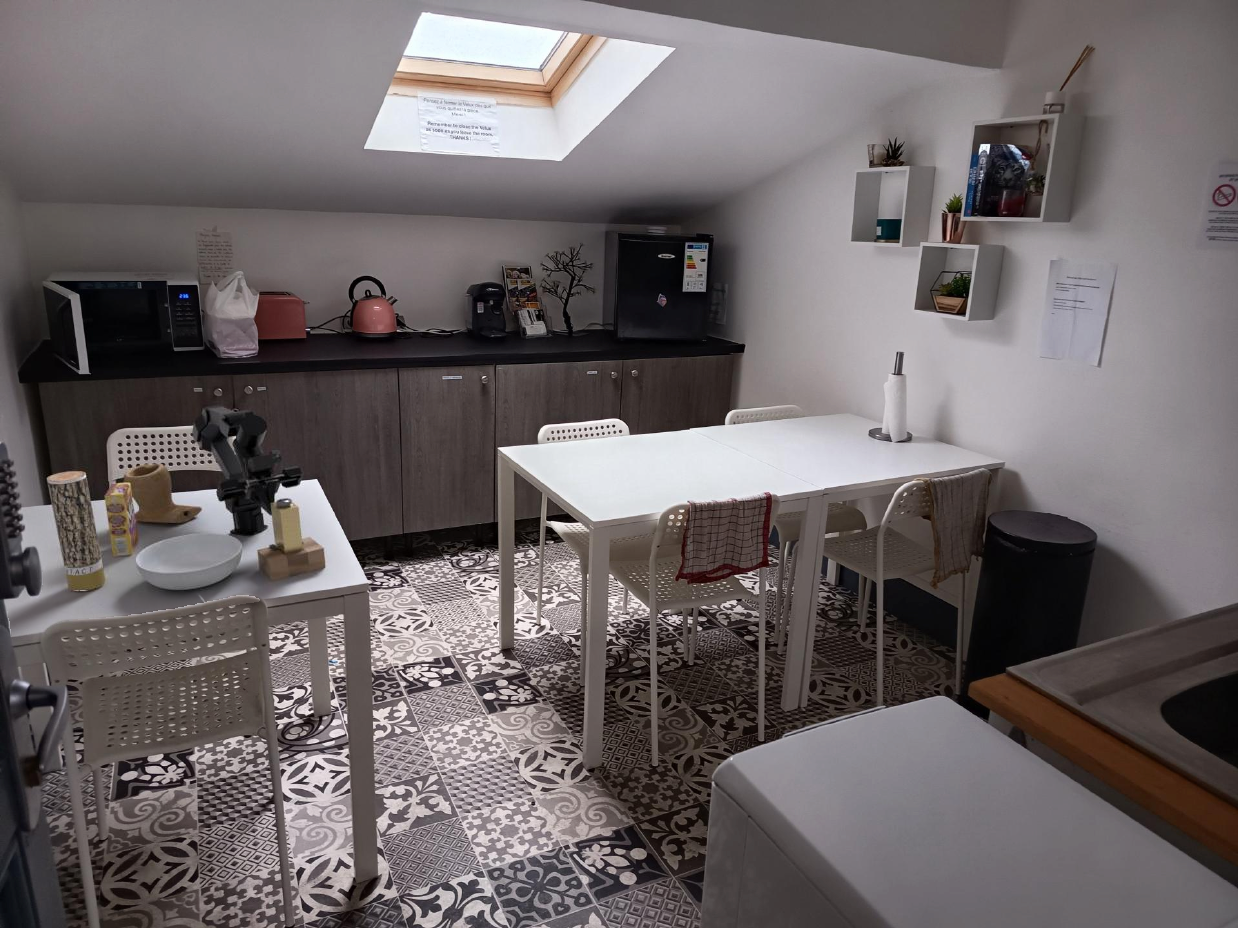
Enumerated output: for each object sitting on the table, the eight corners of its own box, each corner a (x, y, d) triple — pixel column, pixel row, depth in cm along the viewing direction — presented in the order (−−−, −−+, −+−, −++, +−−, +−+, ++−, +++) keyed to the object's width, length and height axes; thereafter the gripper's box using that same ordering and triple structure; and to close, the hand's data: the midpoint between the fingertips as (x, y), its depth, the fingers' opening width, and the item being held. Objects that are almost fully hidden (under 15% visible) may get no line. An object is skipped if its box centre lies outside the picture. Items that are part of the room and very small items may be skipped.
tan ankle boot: (120, 526, 212) (110, 470, 208) (153, 510, 223) (145, 456, 219) (172, 532, 209) (163, 475, 205) (204, 515, 220) (196, 461, 216)
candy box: (134, 555, 196) (123, 494, 191) (113, 557, 194) (101, 495, 190) (140, 540, 204) (130, 481, 199) (120, 543, 202) (109, 483, 198)
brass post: (277, 564, 192) (270, 499, 187) (294, 559, 195) (287, 495, 190) (287, 573, 188) (279, 506, 183) (304, 568, 190) (298, 502, 185)
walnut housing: (259, 570, 190) (256, 547, 188) (311, 556, 197) (309, 535, 196) (272, 582, 184) (269, 559, 182) (325, 568, 192) (323, 545, 190)
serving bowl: (135, 608, 172) (130, 578, 170) (145, 567, 190) (140, 539, 188) (246, 592, 180) (242, 562, 178) (245, 554, 198) (241, 527, 196)
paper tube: (79, 579, 184) (58, 471, 176) (111, 578, 184) (92, 471, 176) (62, 593, 177) (39, 481, 169) (96, 592, 178) (74, 481, 170)
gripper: (213, 447, 187) (235, 507, 183) (296, 433, 199) (319, 489, 194) (207, 471, 195) (228, 529, 191) (287, 457, 207) (309, 511, 202)
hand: (272, 514), depth 194 cm, fingers closed
